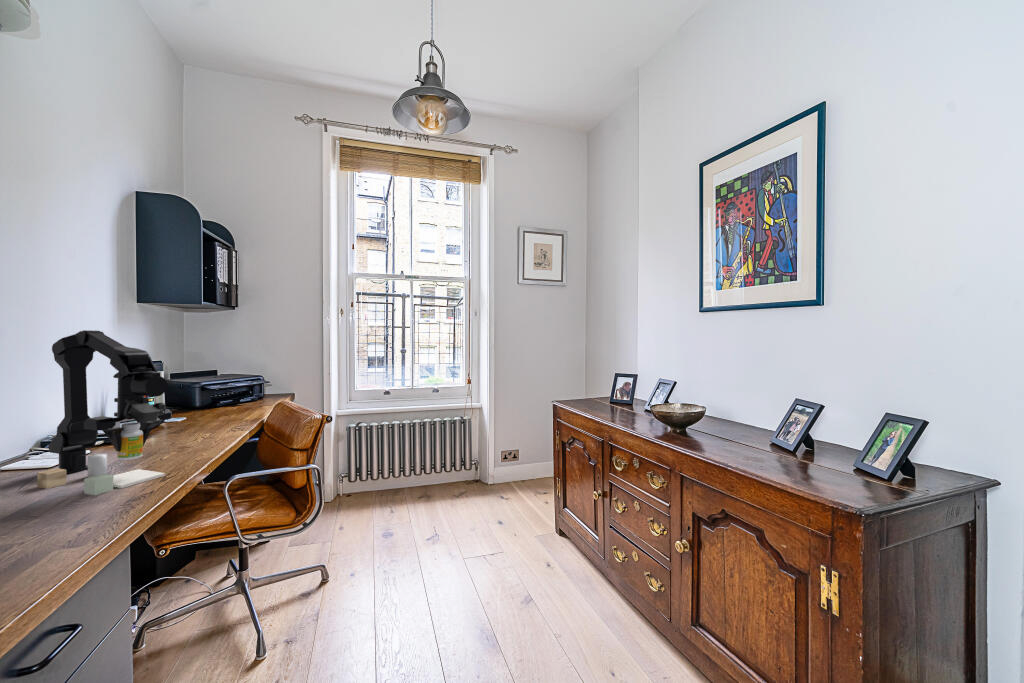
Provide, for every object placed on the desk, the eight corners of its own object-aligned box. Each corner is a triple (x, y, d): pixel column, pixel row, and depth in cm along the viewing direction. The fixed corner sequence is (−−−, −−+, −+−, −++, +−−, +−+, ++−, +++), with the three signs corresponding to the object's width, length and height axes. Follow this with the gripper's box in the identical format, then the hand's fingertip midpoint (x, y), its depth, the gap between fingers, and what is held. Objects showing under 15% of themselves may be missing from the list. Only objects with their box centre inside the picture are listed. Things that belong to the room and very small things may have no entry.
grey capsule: (84, 477, 122) (84, 456, 122) (101, 473, 125) (101, 453, 125) (93, 479, 121) (93, 458, 120) (110, 474, 124) (110, 454, 124)
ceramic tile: (93, 483, 117) (93, 480, 117) (138, 471, 127) (138, 469, 127) (121, 488, 114) (121, 485, 114) (164, 475, 124) (164, 473, 124)
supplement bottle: (127, 460, 117) (128, 426, 117) (112, 459, 118) (112, 424, 118) (147, 455, 123) (148, 422, 123) (132, 454, 124) (133, 421, 124)
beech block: (37, 487, 114) (37, 472, 114) (56, 482, 117) (57, 468, 117) (46, 489, 112) (47, 474, 112) (66, 484, 116) (66, 469, 116)
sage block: (84, 493, 110) (84, 478, 110) (102, 488, 114) (103, 473, 114) (94, 495, 109) (94, 480, 109) (113, 490, 112) (113, 475, 112)
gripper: (111, 400, 109) (110, 460, 109) (185, 392, 127) (184, 443, 127) (82, 397, 112) (81, 456, 112) (158, 390, 130) (158, 440, 130)
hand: (130, 448), depth 121 cm, fingers closed on supplement bottle, 5 cm apart
